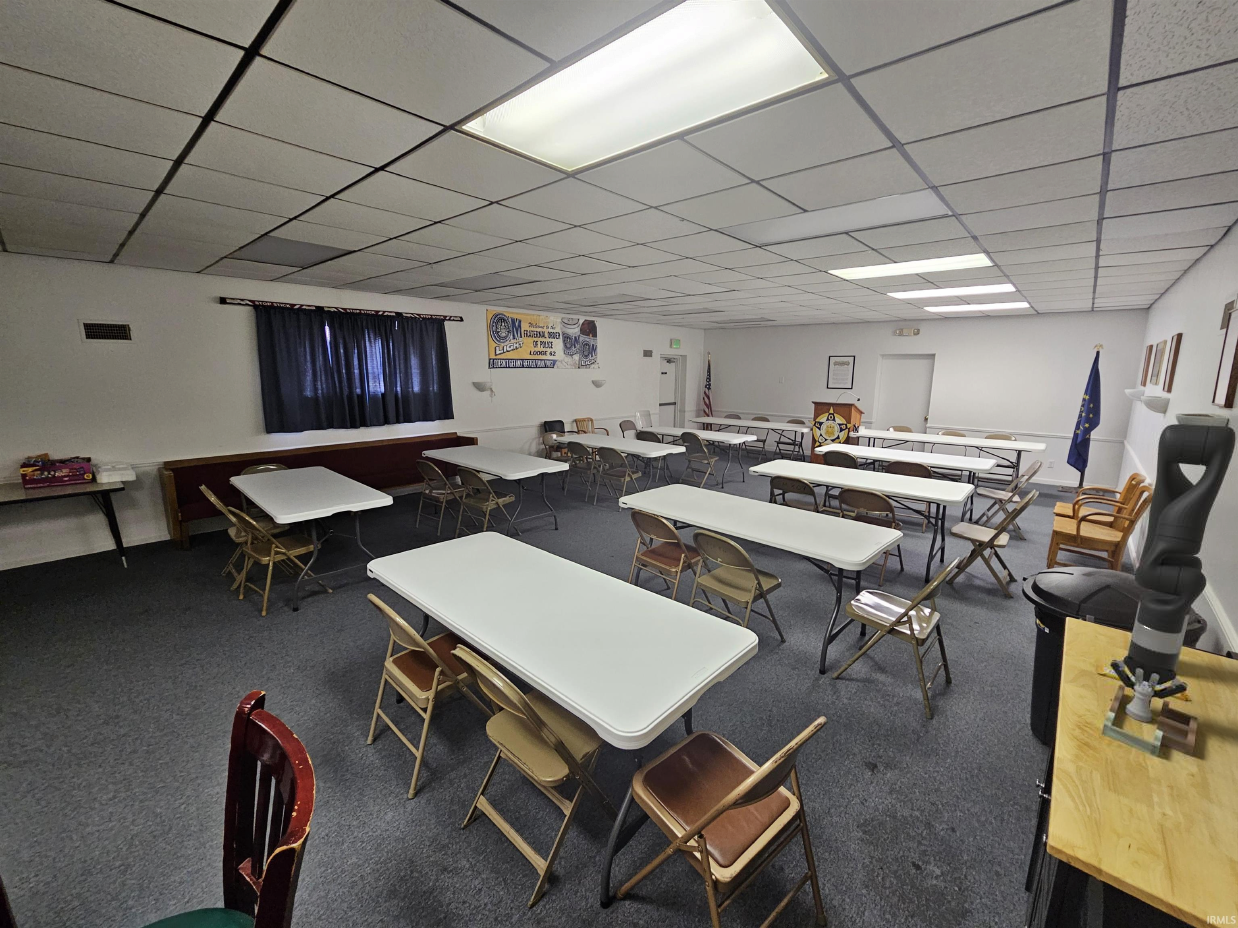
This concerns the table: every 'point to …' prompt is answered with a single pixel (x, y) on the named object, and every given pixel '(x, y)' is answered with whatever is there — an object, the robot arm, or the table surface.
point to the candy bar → (1113, 675)
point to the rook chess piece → (1140, 704)
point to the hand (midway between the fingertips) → (1140, 706)
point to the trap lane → (1174, 726)
